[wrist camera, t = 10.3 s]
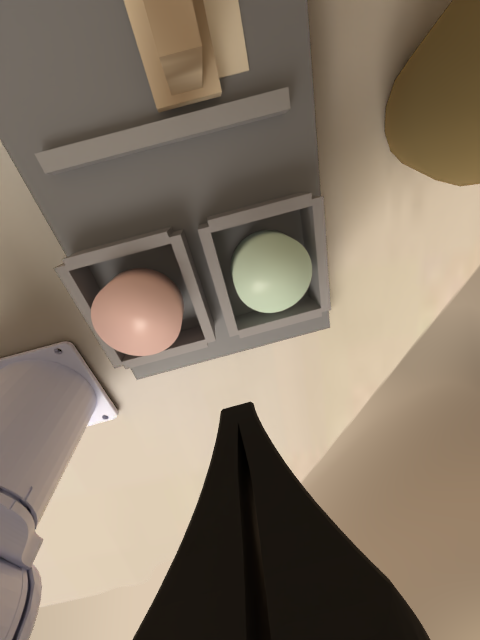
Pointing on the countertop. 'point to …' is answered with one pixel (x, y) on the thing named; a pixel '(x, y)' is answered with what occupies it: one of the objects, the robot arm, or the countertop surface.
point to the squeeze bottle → (440, 100)
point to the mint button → (270, 271)
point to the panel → (168, 162)
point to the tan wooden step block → (175, 51)
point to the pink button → (138, 312)
